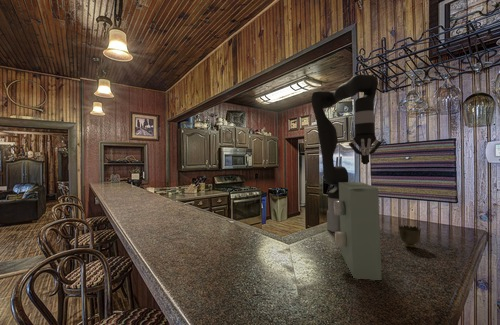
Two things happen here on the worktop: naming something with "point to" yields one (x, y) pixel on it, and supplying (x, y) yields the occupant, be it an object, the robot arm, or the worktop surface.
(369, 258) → the block
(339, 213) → the upper knob
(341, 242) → the lower knob
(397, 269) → the worktop surface
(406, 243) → the cup
